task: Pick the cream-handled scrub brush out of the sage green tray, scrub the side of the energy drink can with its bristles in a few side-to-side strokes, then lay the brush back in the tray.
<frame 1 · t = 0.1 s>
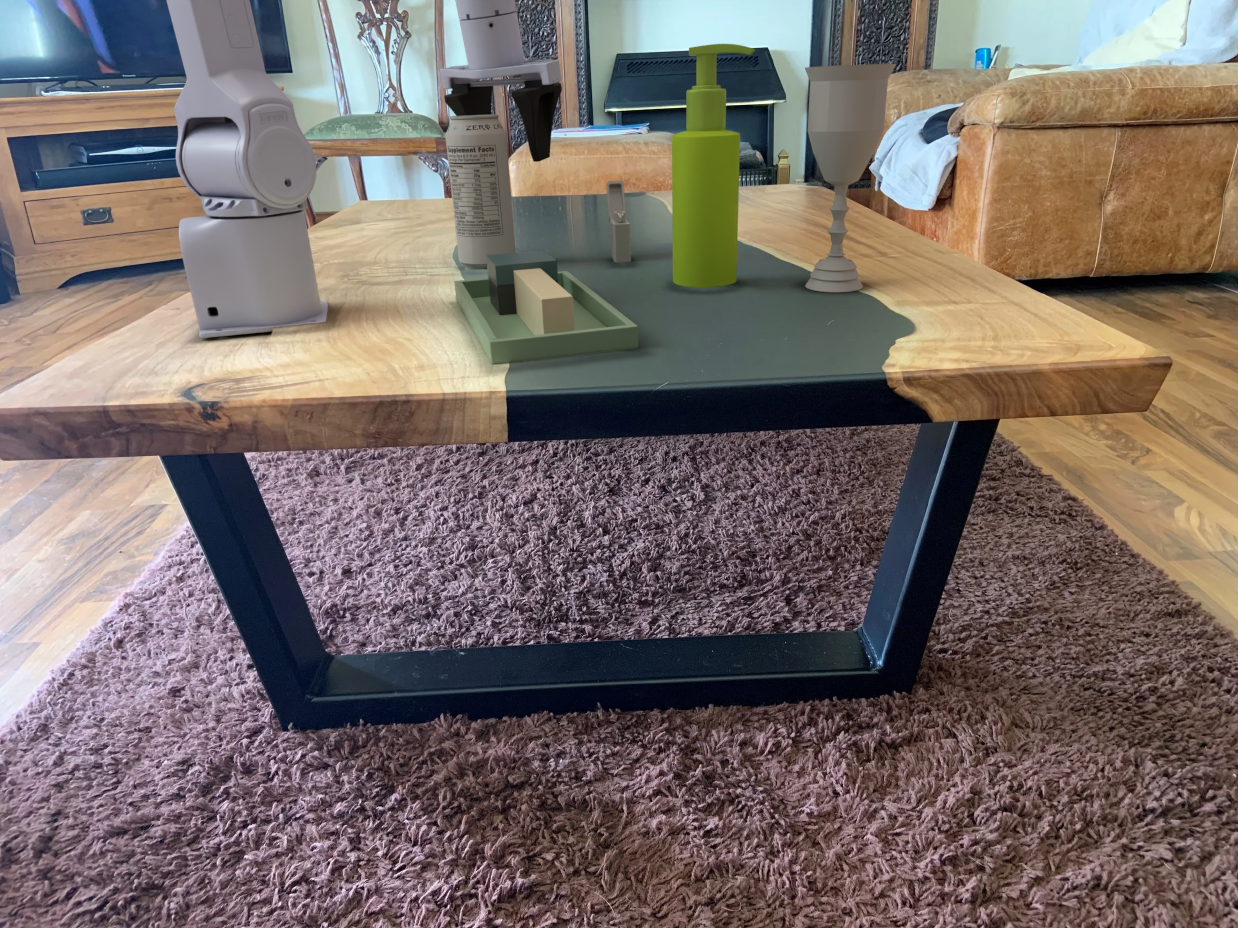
hand: (514, 159, 89), 11 cm above the table, tool pointing down, fingers open, 7 cm apart
energy drink can: (488, 270, 89), on the table
tray: (536, 325, 66), on the table
chalice: (833, 288, 75), on the table
lighter: (619, 262, 90), on the table
soap dispenser: (710, 287, 77), on the table
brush: (536, 319, 66), resting on tray
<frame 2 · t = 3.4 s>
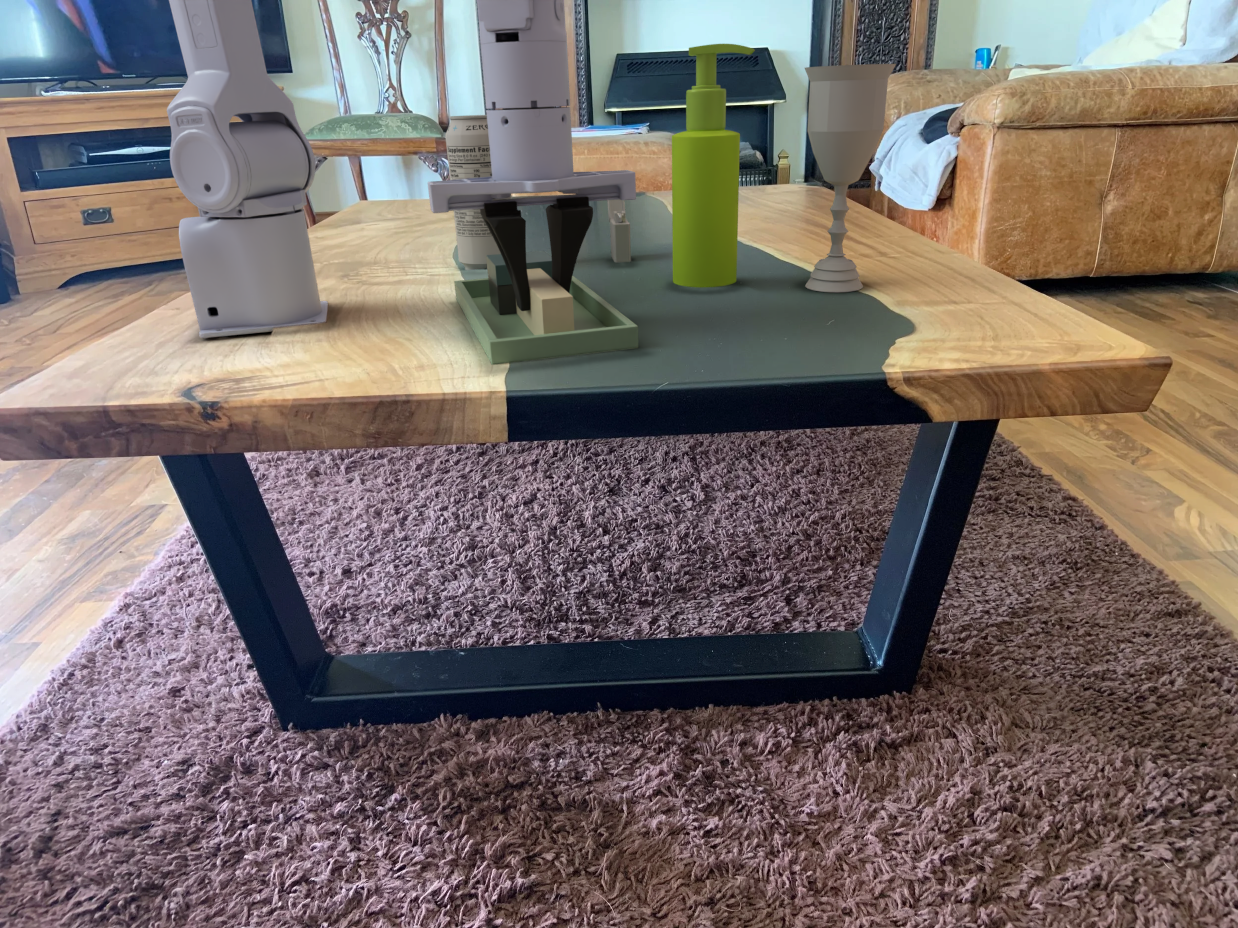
hand: (542, 306, 62), 2 cm above the table, tool pointing down, fingers closed on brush, 2 cm apart
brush: (536, 319, 66), point 1 cm above the table, touching gripper, tray
everything else where it was.
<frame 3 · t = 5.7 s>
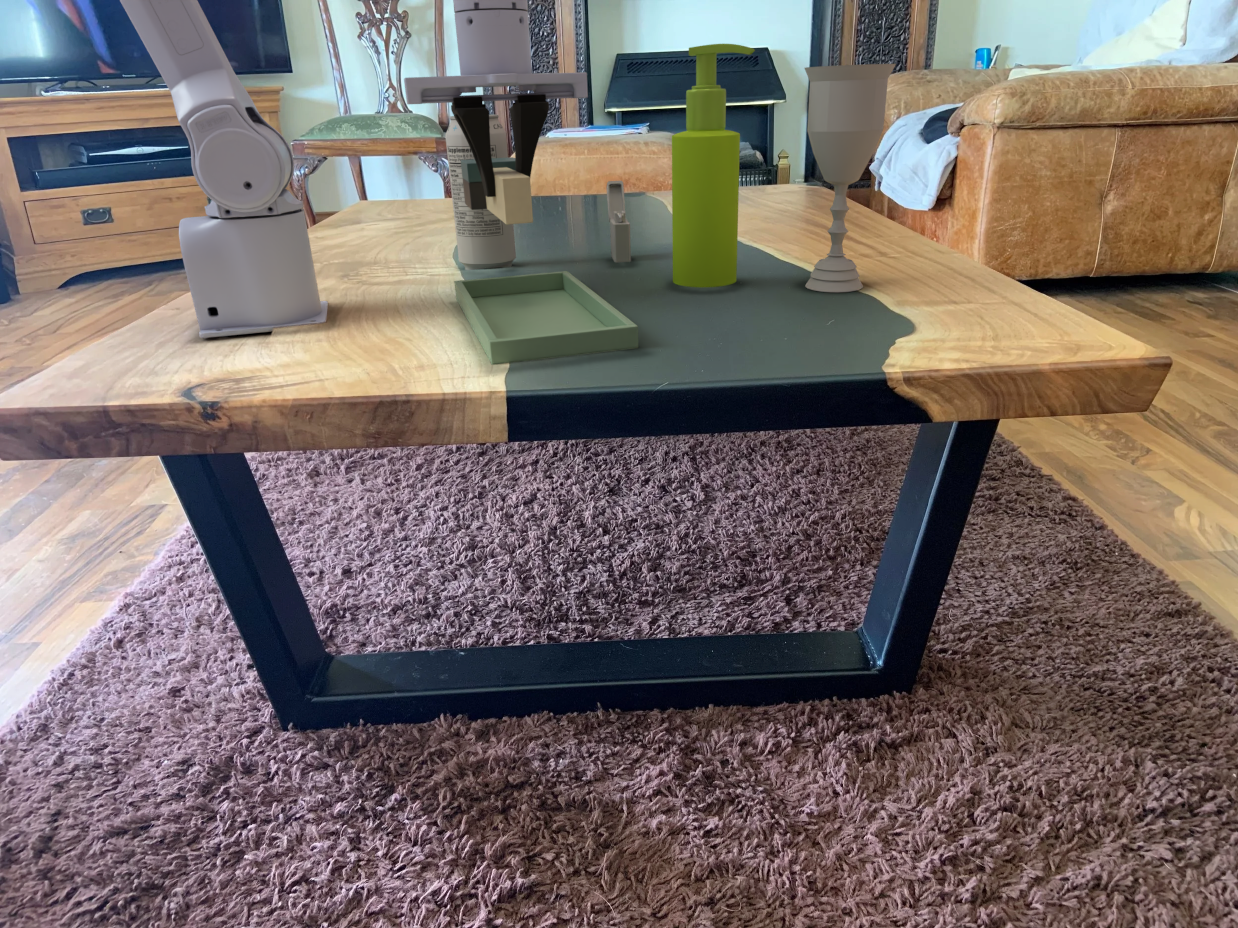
hand: (506, 194, 71), 9 cm above the table, tool pointing down, fingers closed on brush, 2 cm apart
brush: (503, 211, 74), point 7 cm above the table, touching gripper
everything else where it was.
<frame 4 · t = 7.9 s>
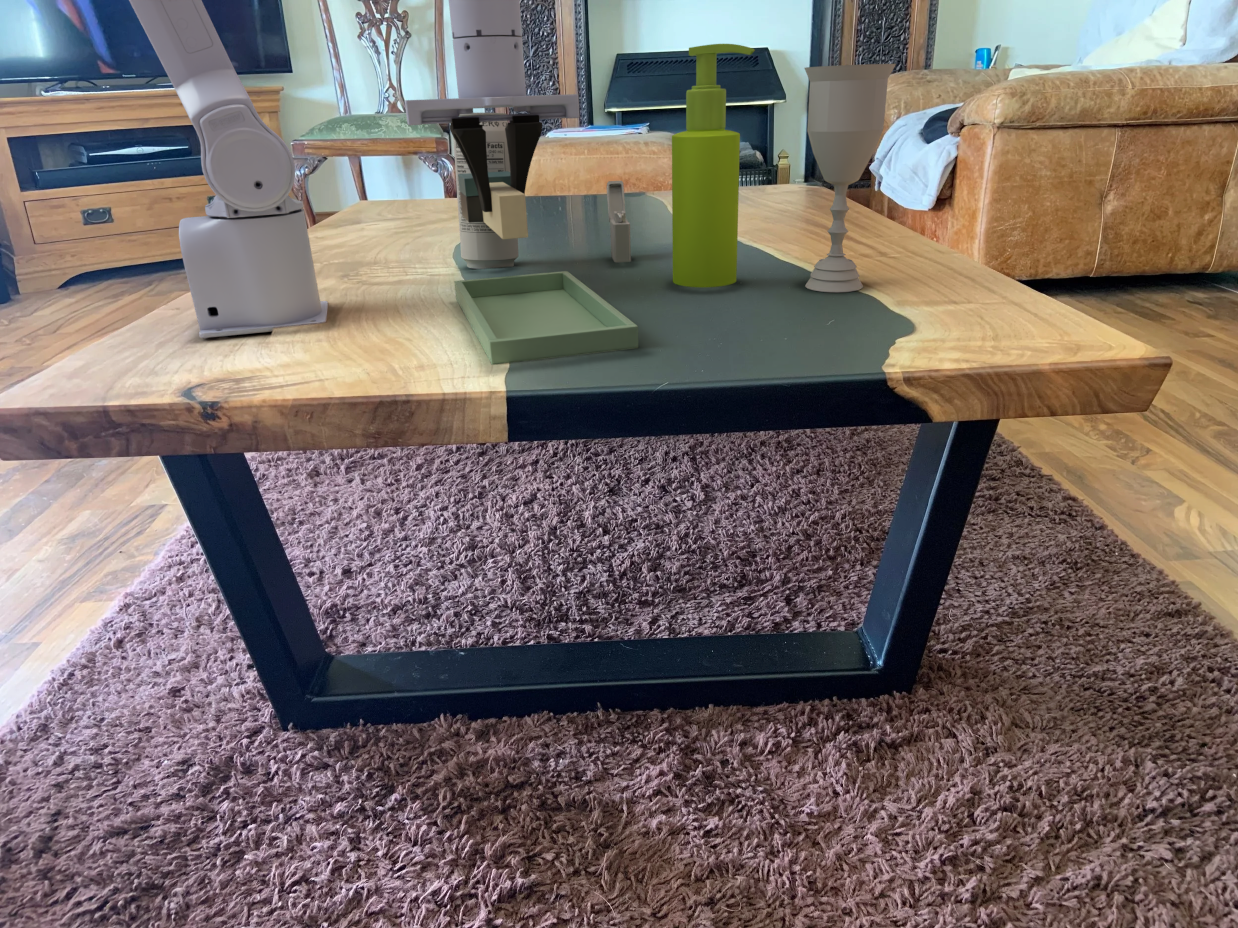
hand: (502, 209, 74), 7 cm above the table, tool pointing down, fingers closed on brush, 2 cm apart
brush: (499, 224, 77), point 6 cm above the table, touching gripper
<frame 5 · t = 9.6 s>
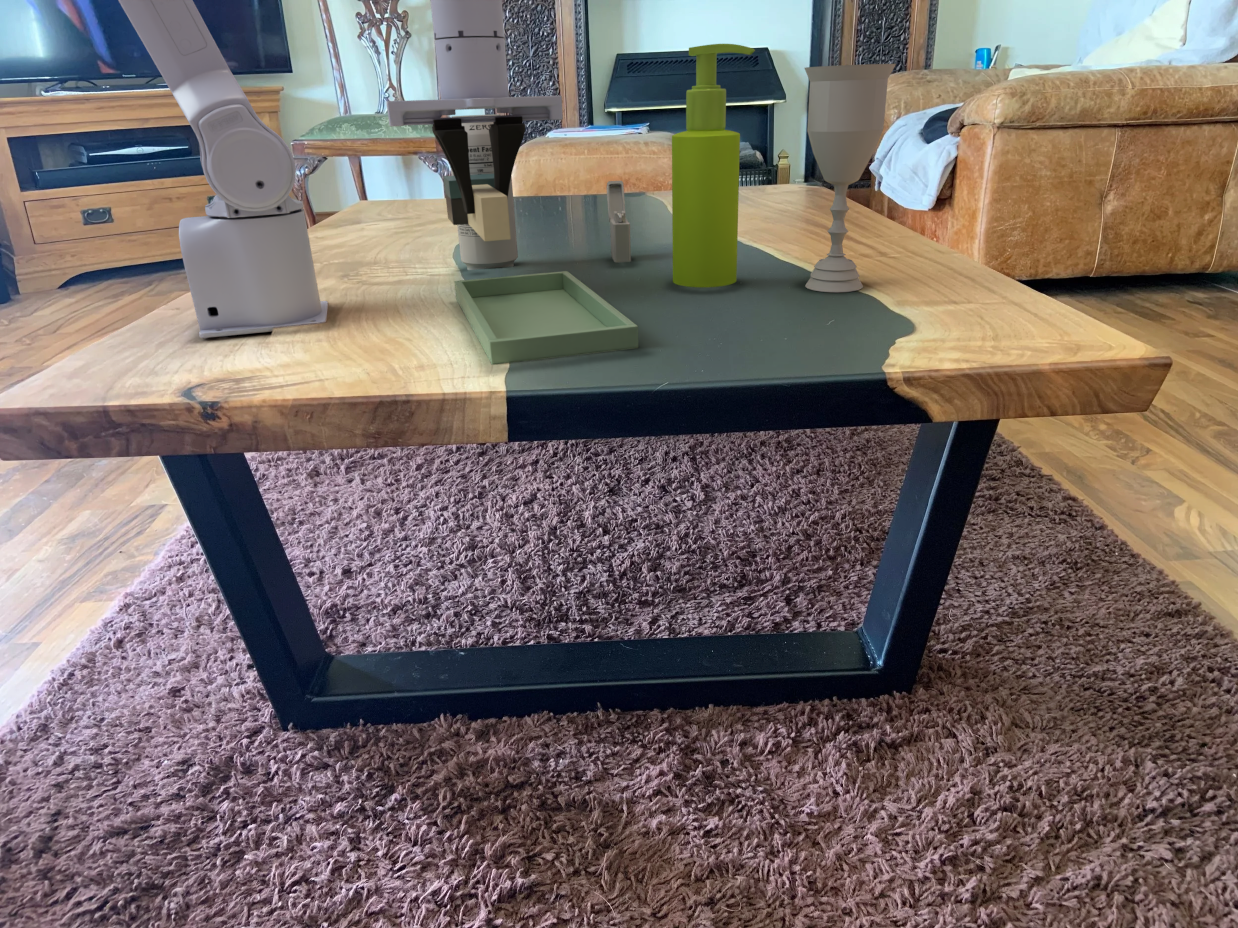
hand: (485, 211, 74), 7 cm above the table, tool pointing down, fingers closed on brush, 2 cm apart
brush: (483, 227, 77), point 6 cm above the table, touching gripper
everything else where it was.
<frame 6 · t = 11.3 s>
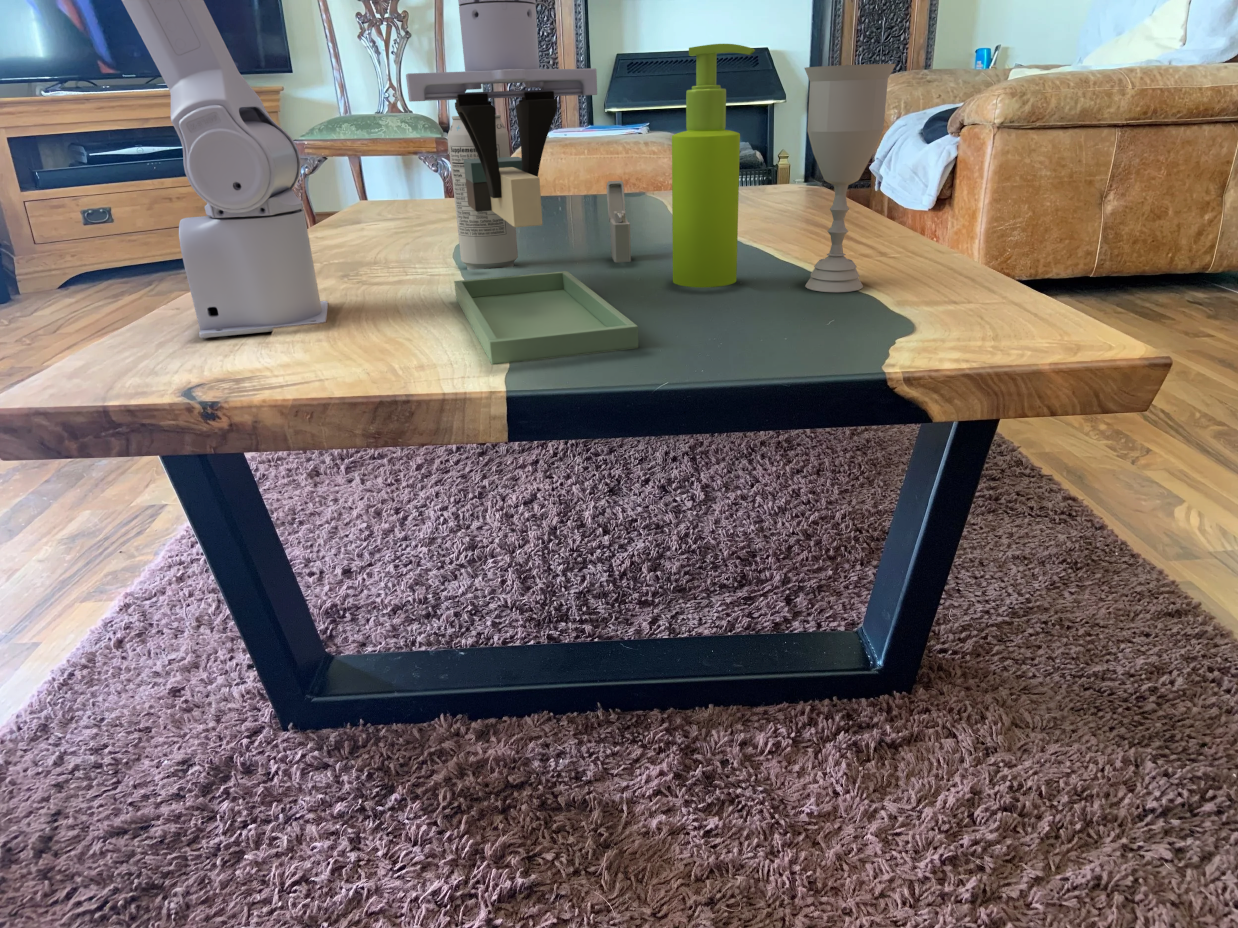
hand: (512, 196, 68), 9 cm above the table, tool pointing down, fingers closed on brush, 2 cm apart
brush: (509, 213, 71), point 8 cm above the table, touching gripper
everything else where it was.
when the fingers open (2 cm above the table, at t = 14.0 s): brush stays where it is, resting on tray.
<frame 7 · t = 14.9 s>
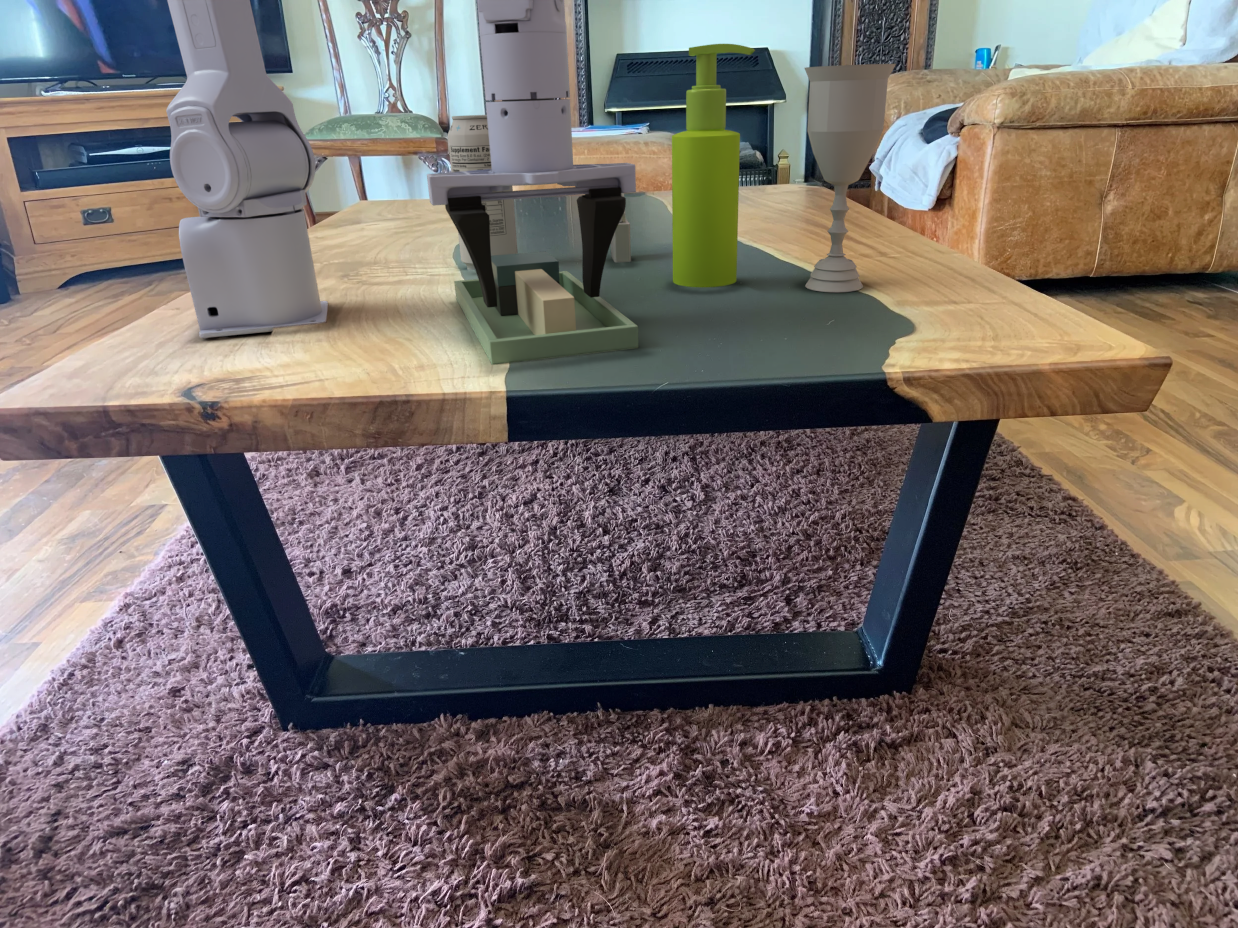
hand: (541, 299, 62), 3 cm above the table, tool pointing down, fingers open, 7 cm apart
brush: (537, 320, 65), resting on tray
everything else where it was.
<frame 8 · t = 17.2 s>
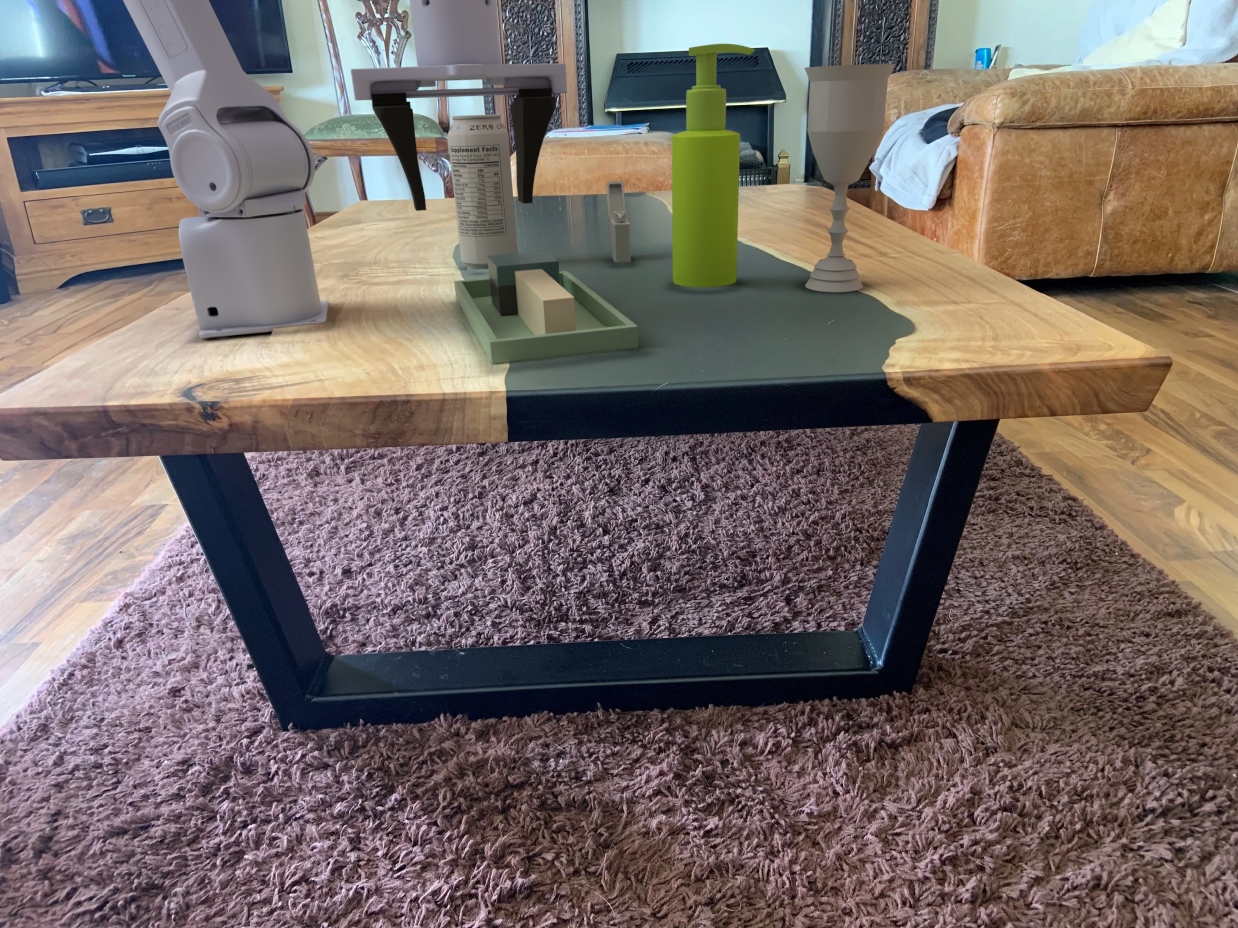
hand: (473, 205, 61), 9 cm above the table, tool pointing down, fingers open, 7 cm apart
nothing on the table moved.
at the end: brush inside the target area in the tray (0.4 cm from its centre), point 0.5 cm above the tray's base; energy drink can tilted 0°; energy drink can moved 0.3 cm from its start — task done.
